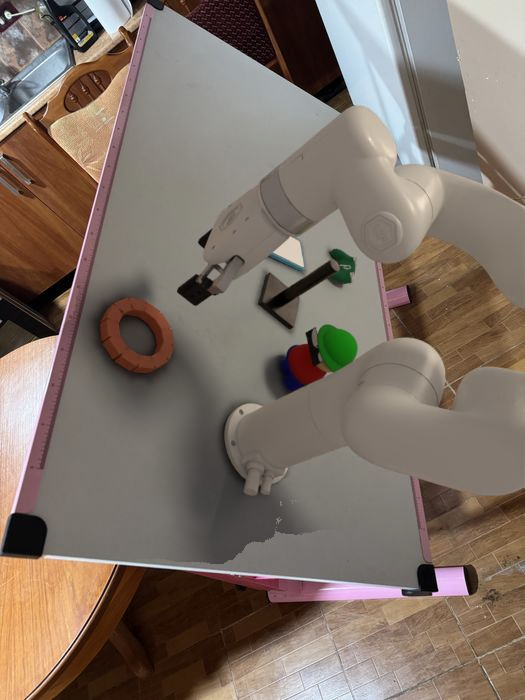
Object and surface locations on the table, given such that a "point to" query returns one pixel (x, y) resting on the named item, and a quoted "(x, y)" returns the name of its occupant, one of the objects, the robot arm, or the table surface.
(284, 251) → the smartphone
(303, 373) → the toy
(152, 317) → the ring
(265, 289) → the post
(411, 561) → the table surface
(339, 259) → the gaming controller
